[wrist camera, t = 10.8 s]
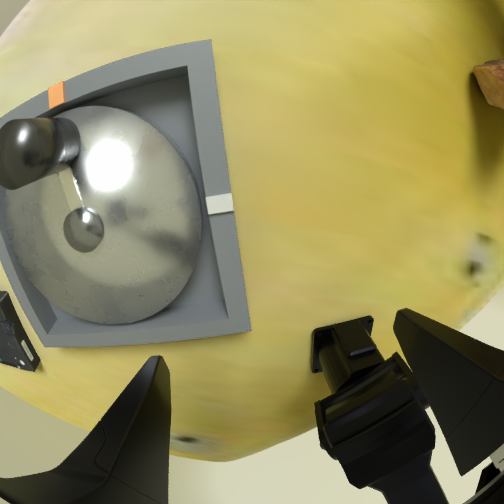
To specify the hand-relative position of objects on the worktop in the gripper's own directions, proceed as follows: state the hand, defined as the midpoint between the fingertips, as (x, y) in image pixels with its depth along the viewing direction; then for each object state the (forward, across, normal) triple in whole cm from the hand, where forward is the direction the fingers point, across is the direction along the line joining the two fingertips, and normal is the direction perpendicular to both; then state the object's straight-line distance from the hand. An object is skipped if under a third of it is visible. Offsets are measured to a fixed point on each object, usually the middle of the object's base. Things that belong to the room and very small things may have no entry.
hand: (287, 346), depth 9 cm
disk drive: (+13, +34, +6) cm, 37 cm away
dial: (+11, +11, -3) cm, 16 cm away
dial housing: (+12, +11, -3) cm, 17 cm away
